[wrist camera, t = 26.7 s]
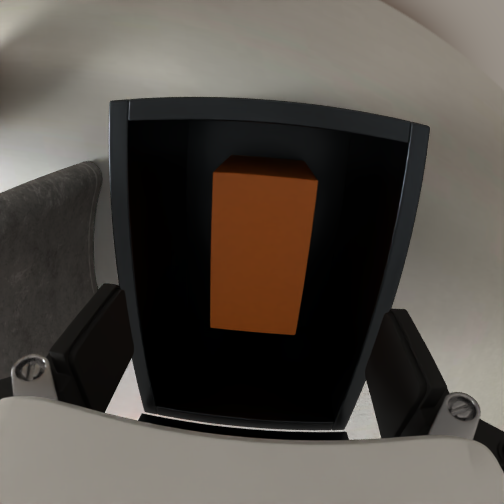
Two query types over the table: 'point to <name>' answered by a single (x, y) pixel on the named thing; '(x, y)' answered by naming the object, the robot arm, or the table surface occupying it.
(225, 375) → the bin
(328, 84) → the table surface
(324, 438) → the bin lid
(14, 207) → the flask
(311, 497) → the robot arm
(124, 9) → the table surface
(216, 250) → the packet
